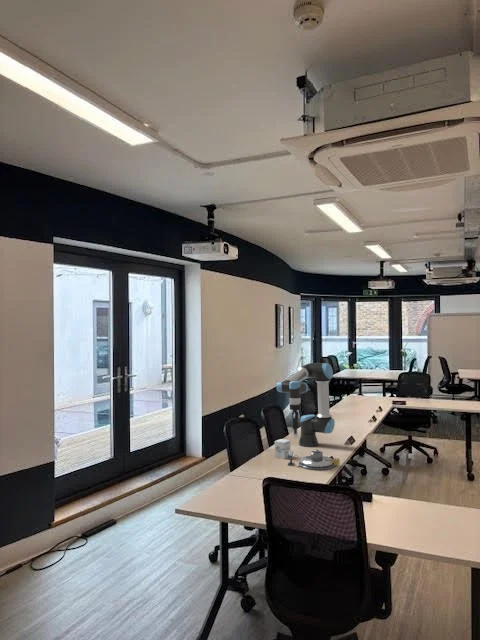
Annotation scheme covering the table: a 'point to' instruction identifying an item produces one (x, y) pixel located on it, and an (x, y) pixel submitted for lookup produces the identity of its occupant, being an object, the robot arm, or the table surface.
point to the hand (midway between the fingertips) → (295, 438)
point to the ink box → (282, 448)
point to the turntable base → (316, 468)
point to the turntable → (321, 464)
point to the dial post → (291, 458)
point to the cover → (316, 456)
